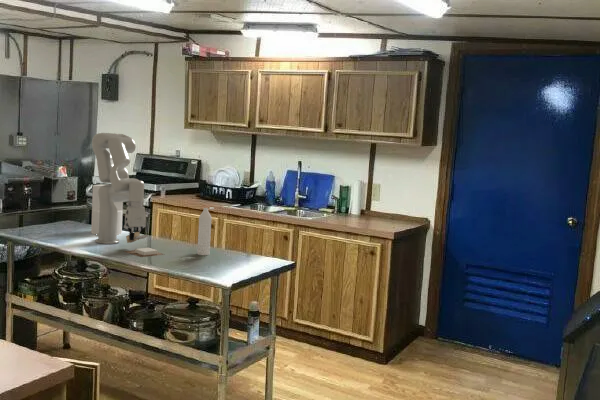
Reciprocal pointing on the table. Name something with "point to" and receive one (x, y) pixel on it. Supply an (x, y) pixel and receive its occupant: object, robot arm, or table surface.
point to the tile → (146, 251)
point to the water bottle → (204, 232)
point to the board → (141, 255)
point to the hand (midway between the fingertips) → (134, 239)
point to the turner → (135, 237)
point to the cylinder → (97, 208)
